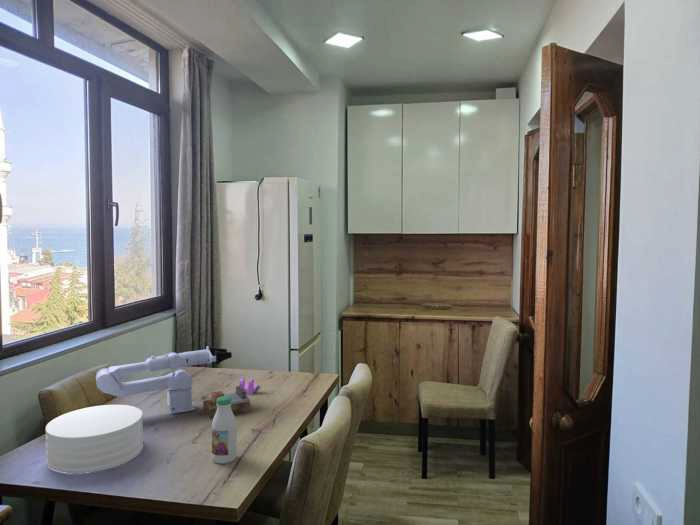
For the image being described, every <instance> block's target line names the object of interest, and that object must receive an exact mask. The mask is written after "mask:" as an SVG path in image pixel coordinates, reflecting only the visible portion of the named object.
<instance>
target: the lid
mask: <svg viewBox="0 0 700 525" xmlns="http://www.w3.org/2000/svg"><path fill="white" fill-rule="evenodd" d="M224 396H229V397H231V405H234V404H239V403H245V402H250V403H251V399H250V397H248V395H246V391H245V390H244V389H243V388H241V387H240V386H239V385H237V386H235V392H230V393H224Z"/></svg>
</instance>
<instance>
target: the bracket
mask: <svg viewBox="0 0 700 525" xmlns="http://www.w3.org/2000/svg"><path fill="white" fill-rule="evenodd" d="M245 380H246V379H245V377H244V378H242V377H241V378H240V379H239V385H238V386H240V387H241V388H243V389H244V390H245V391H246V396H248V395H249V396H251V395H253V394H254V393H255V392H256V390H257V389H258V383H255V380H254V378H249V379H248V383H246V381H245Z"/></svg>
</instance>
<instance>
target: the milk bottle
mask: <svg viewBox="0 0 700 525" xmlns="http://www.w3.org/2000/svg"><path fill="white" fill-rule="evenodd" d="M216 402H217V411H216V414H215V416H214V418H213V419H212V424H211V459H212V462H214V463H215V464H221V465H222V464H230V463H231V462H234V461H235V460H236V459H237V455H238V453H237V452H238V451H237V449H238V446H237V443H238V442H237V441H238V440H237V438H238V437H237V420H236V416H235V415H234V414H233V412H232V410H231V397H229V396H221V397H218V398H217V401H216Z"/></svg>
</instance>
